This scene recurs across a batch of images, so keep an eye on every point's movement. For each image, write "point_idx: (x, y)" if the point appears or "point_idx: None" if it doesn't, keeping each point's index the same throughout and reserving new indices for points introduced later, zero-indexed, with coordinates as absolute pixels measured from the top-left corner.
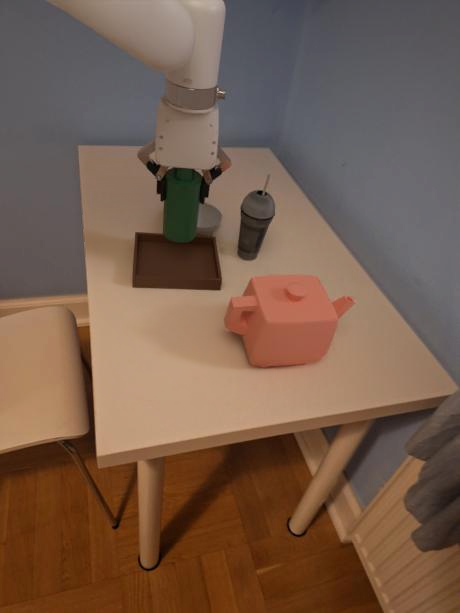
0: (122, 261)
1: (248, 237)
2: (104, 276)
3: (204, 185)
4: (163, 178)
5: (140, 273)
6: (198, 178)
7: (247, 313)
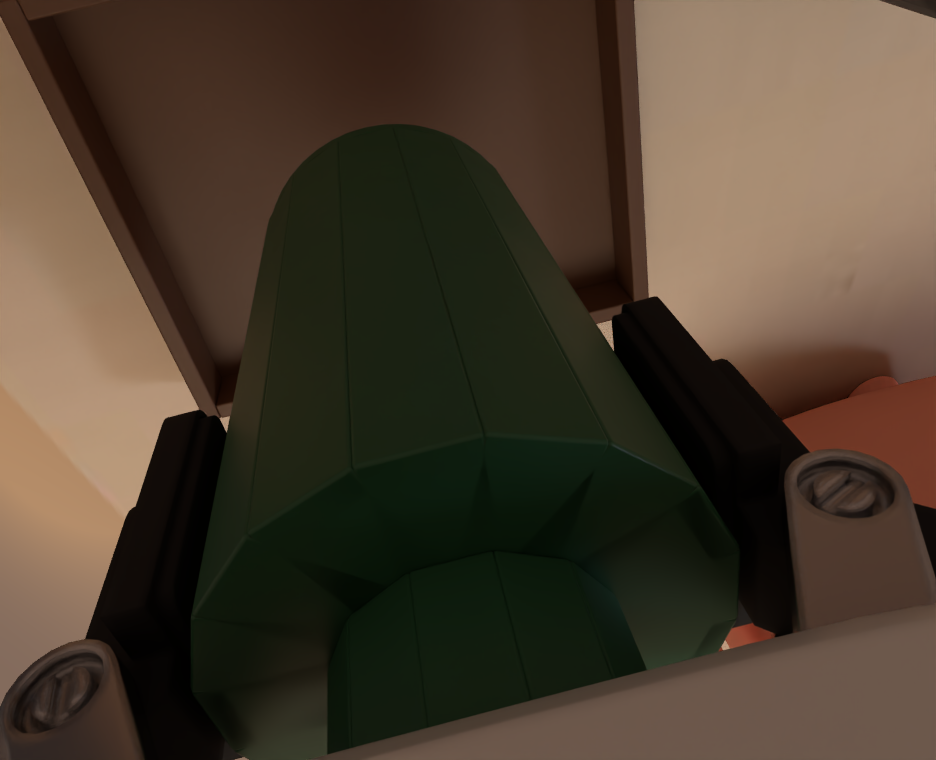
0: (63, 217)
1: (904, 7)
2: (45, 353)
3: (739, 616)
4: (216, 734)
5: (215, 312)
6: (684, 624)
7: (753, 628)
